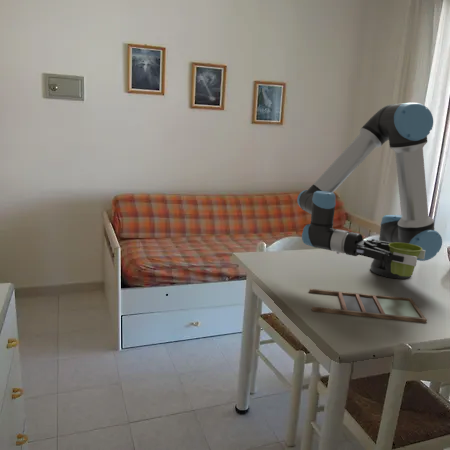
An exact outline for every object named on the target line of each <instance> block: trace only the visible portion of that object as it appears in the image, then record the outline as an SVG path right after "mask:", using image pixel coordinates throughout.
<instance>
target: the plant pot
mask: <svg viewBox="0 0 450 450" xmlns="http://www.w3.org/2000/svg"><path fill="white" fill-rule="evenodd" d="M389 247H390V251H391V253H393V252H397V253H401V254H406V255H411V256H416V257H417V258H418V255H419V254H420V251H422V248H421V247H419V246H417V245H413V244H408V243H399V242H395V243H389ZM415 267H416V266H412V265H407V264H403V263H398V262H394V261H392V262H391V272H392V273H393V274H398V275H399V276H406V277H407V276H410V275H411V276H413V273H414V270H415Z"/></svg>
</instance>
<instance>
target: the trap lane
mask: <svg viewBox="0 0 450 450" xmlns="http://www.w3.org/2000/svg"><path fill="white" fill-rule="evenodd" d="M308 292H309V293H310V294H311V293H312V294H323V295H330V296H331V295H333V296H338V297H339V302H340V305H341V309H339V308H338V309H337V308H329V307H328V308H327V307H321V306H320V307H319V306H311V312H317V313H328V314H337V315H347V316H355V317H356V316H357V317H366V318H377V319H387V320H396V321H405V322H416V323H424V324H425V323H428V318H427V317H426V316H425V315H424V314H423V312H422V311H421V309H420V308H419V307H418V305H417V304H416V302H415V301H414V300H413V298H411V297H401V296H392V295H391V296H389V295H379V294H370V293H362V292H361V293H360V292H357V293H356V292H347V291H340V290H339V291H338V290H337V291H336V290H328V289H327V290H326V289H317V288H309V291H308Z"/></svg>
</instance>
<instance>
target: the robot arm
mask: <svg viewBox="0 0 450 450" xmlns="http://www.w3.org/2000/svg"><path fill="white" fill-rule="evenodd" d="M433 126H434V117H433V114H432V111H431V110H430V109H429V107H427V105H424V104H422V103H419V102H403V103H392V104H388V105H385V106H384V107H381V108H380V109H379V110H377V112H375V113H374V114H373V115H372V116H371V117H370V118H369V119H368V120H367V121H366V123H364V125H363V126H362V127H361V128H360V129H359V134H358V135H357V136H356V137H355V138H354V140H353V141H352V142H351V143H350V144H349V145H348V146H347V147H346V148H345V149H344V150H343V151H342V153H341V154H340V155H339V156H338V157H337V158H336V159H335V160H334V161H333V162H332V164H331V165H330V166H329V167H328V168H327V169H326V170H325V171H324V172H323V173H322V174H321V175H320V177H318V178H317V179H316V181H314V183H313V184H312V185H311V186H310V187H309V188H308V189H304V190H302V191H301V192H299V194H298V195H297V199H296V203H297V205H298V206H299V208H301V210H303V211H305V212H307V213H308V214H309V215H310V223H308V224H306V225H305V226H304V227H303V229H302V233H301V240H302V243H303V244H304V245H307V246H309V247H313V248H315V249H320V250H326V251H329V252H330V251H331V252H336V254H338V255H339V254H346V255H347V256H352V257H358V256H364V257H366V258H370V259H372V261H371V264H370V271H371V272H372V273H374V274H376V275H379V276H382V277H385V278H390V279H408V278H410V277H412V275H410V276H407V277H406V276H399V275H398V274H393V273H392V272H391V262H392V261H394V262H398V263H403V264H407V265H412V266H415V267H416V266H417V262H418V261H420V262H425V261H429V260H432V259H433V258H434V257H436V256H437V254H438V253H439V252H440V250H441V248H442V245H443V238H442V236H441V234H440V233H439V231H437V230H435V220H434V218H432V217H431V216H430V215H429V208H428V197H427V196H428V195H427V193H428V192H427V183H426V182H427V181H426V173H425V172H426V170H425V161H424V160H425V159H424V157H425V156H424V147H425V145H427V143H428V136H429V134H430V131H432V130H433V128H434V127H433ZM387 141H388V143H389V148H390V149H391V150H392V151H393V152H394V153H395V154H394V155H395V164H396V173H397V174H396V175H397V185H398V194H399V196H398V197H399V202H400V203H399V205H400V213H401V214H386V215H383V217H382V218H381V222H380V230H379V236H378V237H379V238H378V239H374V238H373V239H372V238H371V239H366V240H364V238H363V235H362V234H361V233H358V232H353V231H349V230H343V229H336V228H334V219H335V210H336V209H335V208H336V204H337V202H336V198H337V197H336V193H335V191H337V189H338V188H339V187H341V185H342V184H343V183H344V182H345V181H346V179H348V178H349V176H351V174H352V173H353V172H354V171H355V170H356V169H357V168H358V167H359V166H360V165H361V164H362V163H363V162H364V161H365V159H367V157H369V155H370V154H372V153H373V152H374V150H375V149H376V148H381V147H382V146H383V144H385V143H386V142H387ZM395 242H399V243H408V244H413V245H417V246H419V247H421V248H422V251H420V254H419V255H418V258H417V257H416V256H411V255H406V254H401V253H397V252H393V253H391V251H390V247H389V243H395Z"/></svg>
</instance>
